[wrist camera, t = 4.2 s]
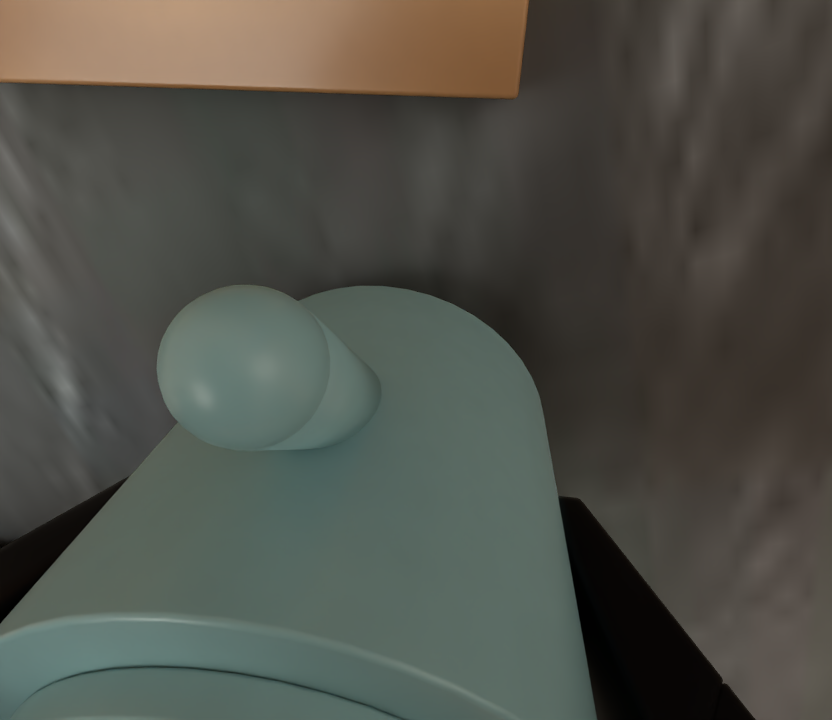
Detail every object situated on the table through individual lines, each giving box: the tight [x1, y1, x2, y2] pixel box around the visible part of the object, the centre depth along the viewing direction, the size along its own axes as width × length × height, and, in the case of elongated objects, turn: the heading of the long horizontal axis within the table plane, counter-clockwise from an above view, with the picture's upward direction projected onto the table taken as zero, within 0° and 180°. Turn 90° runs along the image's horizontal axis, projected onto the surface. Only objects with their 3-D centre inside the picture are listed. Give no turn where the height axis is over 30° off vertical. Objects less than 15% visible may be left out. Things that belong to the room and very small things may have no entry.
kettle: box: [0, 285, 597, 720], centre depth 7 cm, size 11×7×8 cm, turn 179°
